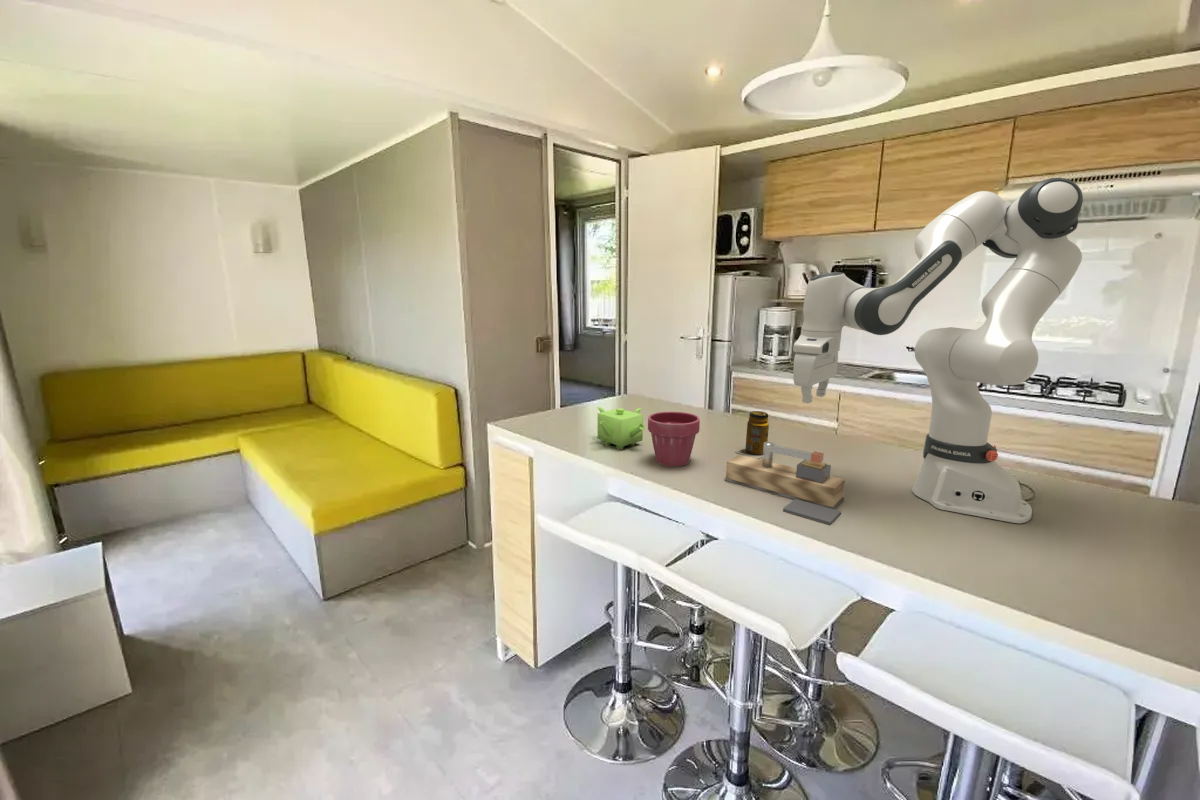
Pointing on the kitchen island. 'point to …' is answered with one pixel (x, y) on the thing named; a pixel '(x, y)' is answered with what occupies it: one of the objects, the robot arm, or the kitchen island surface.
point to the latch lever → (771, 448)
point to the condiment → (756, 434)
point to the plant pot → (673, 436)
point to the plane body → (784, 482)
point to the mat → (812, 511)
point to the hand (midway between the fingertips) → (813, 399)
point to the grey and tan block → (813, 471)
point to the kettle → (620, 427)
